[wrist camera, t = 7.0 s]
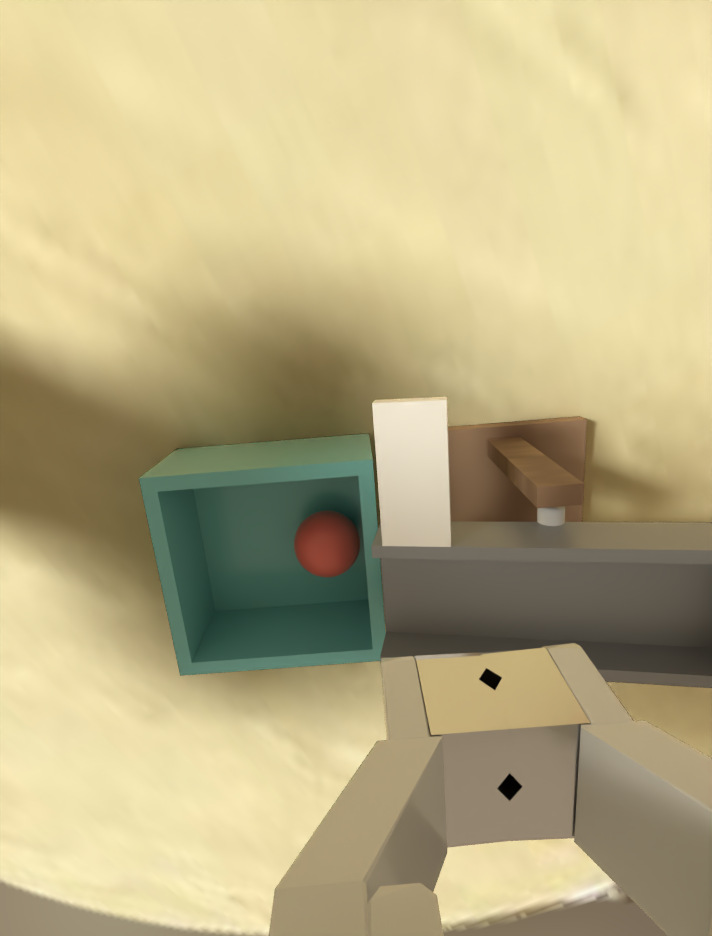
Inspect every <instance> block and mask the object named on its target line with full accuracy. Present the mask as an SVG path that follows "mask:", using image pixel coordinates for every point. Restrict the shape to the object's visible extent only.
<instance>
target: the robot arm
mask: <svg viewBox="0 0 712 936" xmlns="http://www.w3.org/2000/svg"><path fill="white" fill-rule="evenodd" d="M381 674H382V687H383V700H384V713H385V726H386V739H387V740H382V741H377V742H376V744H375V745H374V747H373V748H372V749H371V751H370V752H369V754H368V755H367V757H366V758H365V760H364V761H363V762H362V764H361V765H360V767H359V768H358V770H357V771H356V773H355V774H354V776H353V777H352V778H351V780H350V781H349V783H348V784H347V786H346V787H345V789H344V790H343V791H342V793H341V794H340V796H339V797H338V799H337V800H336V802H335V803H334V804H333V806H332V807H331V809H330V810H329V812H328V813H327V815H326V816H325V818H324V819H323V820H322V822H321V823H320V825H319V826H318V828H317V829H316V831H315V832H314V833H313V835H312V836H311V838H310V839H309V841H308V842H307V844H306V845H305V846H304V848H303V849H302V851H301V852H300V854H299V855H298V857H297V858H296V859H295V861H294V862H293V864H292V865H291V867H290V868H289V870H288V871H287V873H286V874H285V875H284V877H283V878H282V880H281V881H280V883H279V884H278V886H277V887H276V888H275V892H274V900H273V907H272V915H271V923H270V930H269V936H443V930H442V924H441V918H440V912H439V906H438V900H437V895H436V894H434V893H433V891H434V888H435V885H436V882H437V880H438V877H439V874H440V871H441V868H442V866H443V863H444V860H445V857H446V854H447V847H456V846H465V845H475V844H484V843H493V842H503V841H518V840H541V839H565V838H574V842H575V843H576V844H577V845H578V846H579V847H580V848H581V849H582V850H583V851H584V852H585V853H586V854H587V855H588V856H589V857H590V858H591V859H592V860H593V861H594V862H595V863H596V864H597V865H598V866H599V867H600V868H601V869H602V870H603V871H604V872H605V873H606V874H607V875H608V876H609V877H610V878H611V879H612V880H613V881H614V882H615V883H616V884H617V885H618V886H619V887H620V888H621V889H622V890H623V891H624V892H625V893H626V894H627V895H628V896H629V897H630V898H631V899H632V900H633V901H634V902H635V903H636V904H637V905H638V906H639V907H640V908H641V909H642V910H643V911H644V912H645V913H646V914H647V915H648V916H649V917H650V918H651V919H652V920H653V921H654V922H655V923H656V924H657V925H658V926H659V927H660V928H661V929H662V930H663V931H664V932H665V933H666V934H667V935H668V936H712V758H711V757H709V756H707V755H705V754H703V753H702V752H700V751H698V750H696V749H695V748H693V747H691V746H689V745H687V744H686V743H684V742H682V741H680V740H679V739H677V738H675V737H673V736H671V735H670V734H668V733H666V732H664V731H663V730H661V729H659V728H657V727H655V726H654V725H652V724H650V723H648V722H647V721H633V719H632V718H631V716H630V715H629V714H628V712H627V711H626V709H625V708H624V707H623V705H622V704H621V702H620V701H619V699H618V698H617V697H616V695H615V694H614V692H613V691H612V690H611V688H610V687H609V685H608V684H607V683H606V681H605V680H604V678H603V677H602V676H601V674H600V673H599V671H598V670H597V669H596V667H595V666H594V664H593V663H592V662H591V660H590V659H589V657H588V656H587V654H586V653H585V652H584V650H583V649H582V647H581V646H579V645H577V644H576V643H570V644H561V645H551V646H542V648H533V649H521V650H508V651H496V652H484V653H479V652H476V653H458V654H440V655H422V656H414V658H413V656H407V657H393V658H381Z"/></svg>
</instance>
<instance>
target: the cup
mask: <svg viewBox="0 0 712 936" xmlns="http://www.w3.org/2000/svg"><path fill="white" fill-rule="evenodd" d="M139 482H140V486H141V491H142V496H143V501H144V505H145V510H146V515H147V520H148V525H149V529H150V534H151V539H152V544H153V548H154V553H155V558H156V563H157V567H158V572H159V577H160V582H161V586H162V591H163V596H164V601H165V605H166V610H167V615H168V620H169V624H170V629H171V634H172V639H173V644H174V648H175V653H176V658H177V663H178V667H179V672H180V676H181V675H195V674H208V673H222V672H236V671H249V670H263V669H276V668H290V667H303V666H317V665H330V664H344V663H357V662H371V661H380V655H381V651H382V647H383V642H384V638H385V634H386V632H385V618H384V605H383V591H382V578H381V564H380V558H372V548H371V546H372V543H373V540H374V538H375V535H376V533H377V530H378V524H377V510H376V497H375V483H374V470H373V458H372V451H371V444H370V437H369V433H367V434H355V435H342V436H330V437H317V438H305V439H293V440H280V441H268V442H255V443H243V444H231V445H218V446H206V447H193V448H181V449H176V450H174V451H173V452H172V453H171V454H169V455H168V456H167V457H165V458H164V459H163V460H162V461H160V462H159V463H158V464H156V465H155V466H154V467H153V468H151V469H150V470H149V471H147V472H146V473H145V474H144V475H142V476H141V477H140V478H139ZM319 511H335V512H339V513H341V514H343V515H345V516H346V517H348V518H349V519H350V520H351V521H352V522H353V523H354V525H355V526H356V528H357V530H358V533H359V536H360V551H359V555H358V557H357V559H356V561H355V563H354V564H353V565H352V566H351V567H350V568H349V569H348V570H347V571H346V572H344V573H342V574H340V575H338V576H335V577H319V576H316V575H313V574H311V573H310V572H308V571H307V570H305V569H304V568H303V567H302V565H301V564H300V563H299V561H298V559H297V557H296V554H295V550H294V539H295V534H296V531H297V529H298V527H299V526H300V524H301V523H302V522H303V521H304V520H305V519H306V518H307V517H308V516H310V515H312V514H314V513H316V512H319Z"/></svg>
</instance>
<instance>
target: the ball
mask: <svg viewBox="0 0 712 936" xmlns="http://www.w3.org/2000/svg"><path fill="white" fill-rule="evenodd" d="M294 550H295V554H296V557H297V559H298V561H299V563H300V564H301V565H302V567H303V568H304V569H305V570H307V571H308V572H310V573H311V574H313V575H316V576H319V577H335V576H338V575H340V574H342V573H344V572H346V571H347V570H348V569H349V568H350V567H351V566H352V565H353V564H354V563H355V561H356V559H357V557H358V555H359V551H360V536H359V533H358V530H357V528H356V526H355V525H354V523H353V522H352V521H351V520H350V519H349V518H348V517H346V516H345V515H343V514H341V513H339V512H335V511H319V512H316V513H314V514H312V515H310V516H308V517H307V518H306V519H305V520H304V521H303V522H302V523H301V524H300V526H299V527H298V529H297V531H296V534H295V539H294Z"/></svg>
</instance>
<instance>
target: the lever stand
mask: <svg viewBox="0 0 712 936" xmlns="http://www.w3.org/2000/svg"><path fill="white" fill-rule="evenodd" d="M586 428H587V419H585V418H582V417H580V416H578V417H566V418H554V419H541V420H529V421H516V422H504V423H491V424H479V425H467V426H454V427H448V440H449V473H450V506H451V522H537V508H548V507H561V506H565V522H582V513H583V492H584V471H585V450H586Z"/></svg>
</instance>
